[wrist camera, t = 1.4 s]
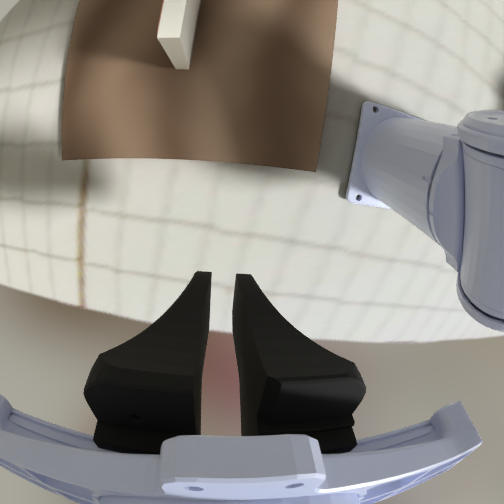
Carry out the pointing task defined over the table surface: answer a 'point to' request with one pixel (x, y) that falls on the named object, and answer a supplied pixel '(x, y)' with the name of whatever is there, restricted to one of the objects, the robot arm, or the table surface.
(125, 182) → the table surface
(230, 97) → the board
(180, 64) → the tile
